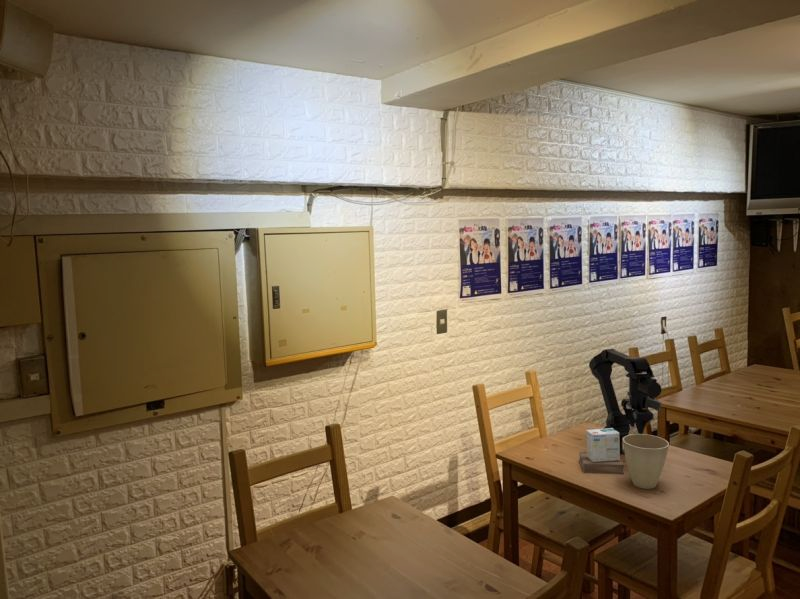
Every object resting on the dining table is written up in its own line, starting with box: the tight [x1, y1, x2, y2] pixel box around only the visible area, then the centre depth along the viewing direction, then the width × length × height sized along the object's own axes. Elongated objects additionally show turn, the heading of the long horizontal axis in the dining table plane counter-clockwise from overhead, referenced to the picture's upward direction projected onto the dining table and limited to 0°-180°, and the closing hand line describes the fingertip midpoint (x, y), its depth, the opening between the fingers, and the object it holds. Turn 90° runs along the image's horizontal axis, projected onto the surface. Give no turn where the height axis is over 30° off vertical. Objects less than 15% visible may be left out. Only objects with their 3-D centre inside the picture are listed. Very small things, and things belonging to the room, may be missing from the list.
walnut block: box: [579, 451, 625, 475], centre depth 229 cm, size 12×14×4 cm
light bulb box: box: [585, 428, 621, 462], centre depth 228 cm, size 11×7×11 cm, turn 94°
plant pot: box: [623, 433, 670, 490], centre depth 212 cm, size 15×15×16 cm
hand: (636, 430), depth 230 cm, fingers open, 9 cm apart
